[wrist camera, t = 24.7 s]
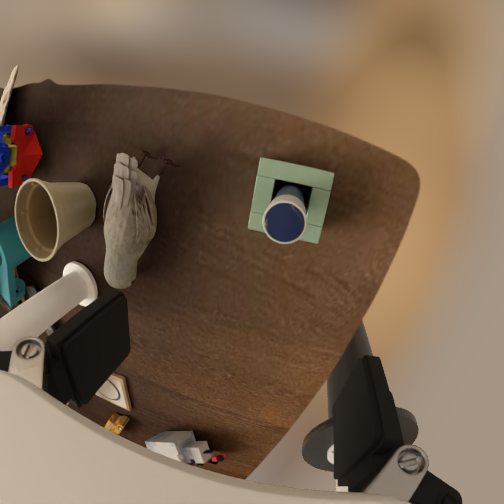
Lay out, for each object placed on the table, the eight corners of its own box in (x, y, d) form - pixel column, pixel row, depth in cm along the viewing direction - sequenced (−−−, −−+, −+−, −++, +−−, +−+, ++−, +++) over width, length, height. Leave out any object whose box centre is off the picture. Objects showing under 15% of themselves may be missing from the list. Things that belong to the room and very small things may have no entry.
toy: (135, 441, 32) (231, 458, 33) (157, 406, 48) (228, 418, 50) (137, 493, 29) (224, 507, 30) (155, 451, 46) (222, 462, 47)
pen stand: (328, 170, 25) (334, 173, 20) (315, 229, 27) (318, 244, 22) (267, 157, 26) (260, 157, 21) (256, 216, 28) (247, 228, 23)
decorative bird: (117, 267, 33) (81, 292, 26) (145, 143, 27) (102, 143, 20) (150, 285, 33) (118, 315, 26) (186, 157, 27) (150, 159, 20)
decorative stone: (0, 141, 30) (-8, 141, 29) (17, 72, 27) (8, 71, 25) (2, 137, 26) (-8, 138, 25) (22, 59, 23) (13, 58, 21)
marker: (305, 183, 26) (311, 205, 14) (300, 206, 27) (301, 248, 14) (282, 178, 26) (266, 196, 14) (277, 201, 27) (258, 239, 15)
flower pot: (73, 156, 29) (23, 163, 21) (117, 194, 29) (67, 209, 21) (53, 213, 32) (10, 230, 24) (93, 252, 33) (50, 277, 25)
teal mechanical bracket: (6, 250, 27) (-15, 220, 26) (11, 307, 34) (-10, 280, 33) (36, 232, 33) (14, 205, 32) (33, 289, 40) (12, 264, 39)
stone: (60, 348, 39) (49, 346, 40) (67, 343, 40) (56, 341, 42) (32, 285, 36) (23, 287, 38) (40, 281, 38) (31, 283, 39)
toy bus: (124, 428, 43) (109, 417, 42) (116, 439, 46) (102, 429, 46) (131, 418, 46) (116, 408, 45) (122, 430, 49) (109, 421, 49)
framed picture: (125, 377, 40) (122, 380, 39) (132, 408, 44) (129, 412, 43) (82, 356, 41) (79, 359, 40) (92, 389, 45) (89, 392, 44)
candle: (103, 307, 36) (-13, 417, 12) (72, 301, 37) (-34, 392, 14) (91, 261, 33) (-50, 361, 10) (61, 260, 35) (-63, 341, 11)
